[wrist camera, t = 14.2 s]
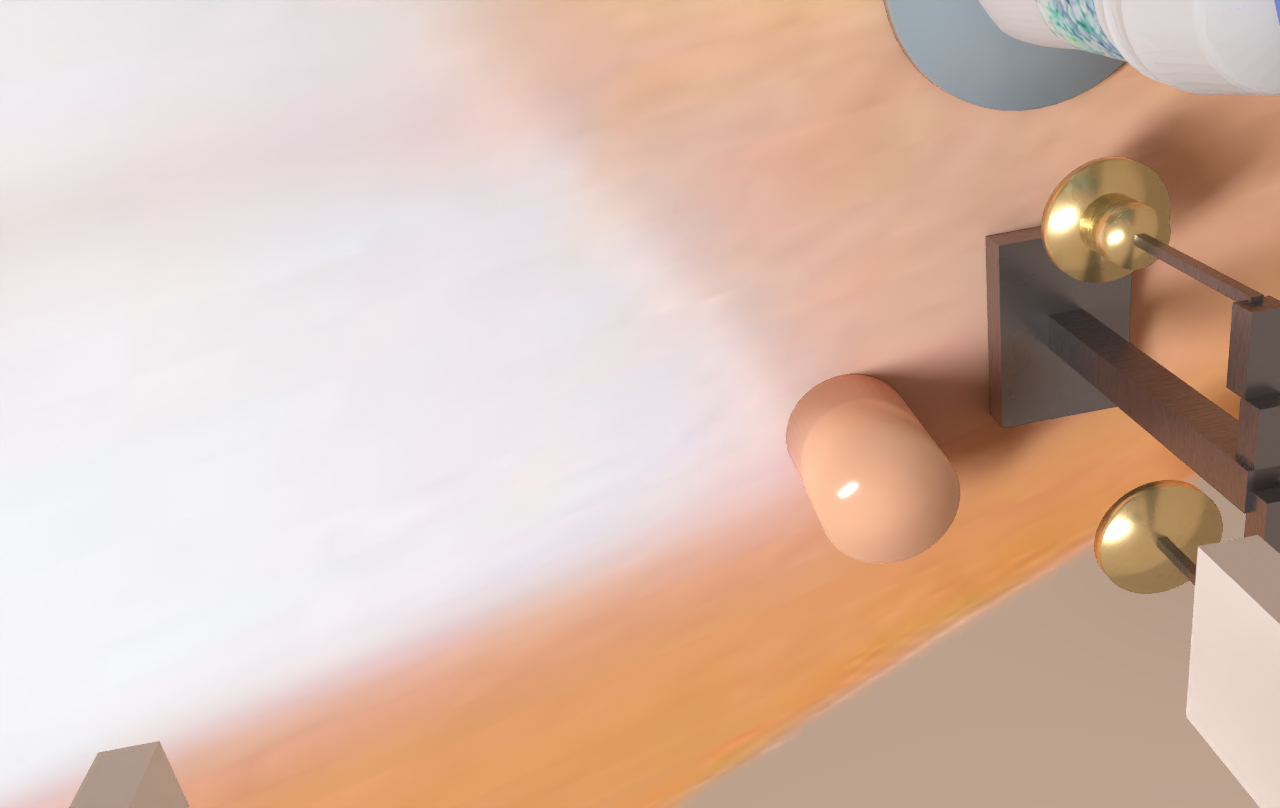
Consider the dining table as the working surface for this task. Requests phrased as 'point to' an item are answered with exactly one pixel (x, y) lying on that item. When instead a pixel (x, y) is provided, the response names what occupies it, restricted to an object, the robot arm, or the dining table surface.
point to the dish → (989, 57)
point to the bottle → (1161, 38)
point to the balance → (1133, 367)
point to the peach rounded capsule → (871, 470)
